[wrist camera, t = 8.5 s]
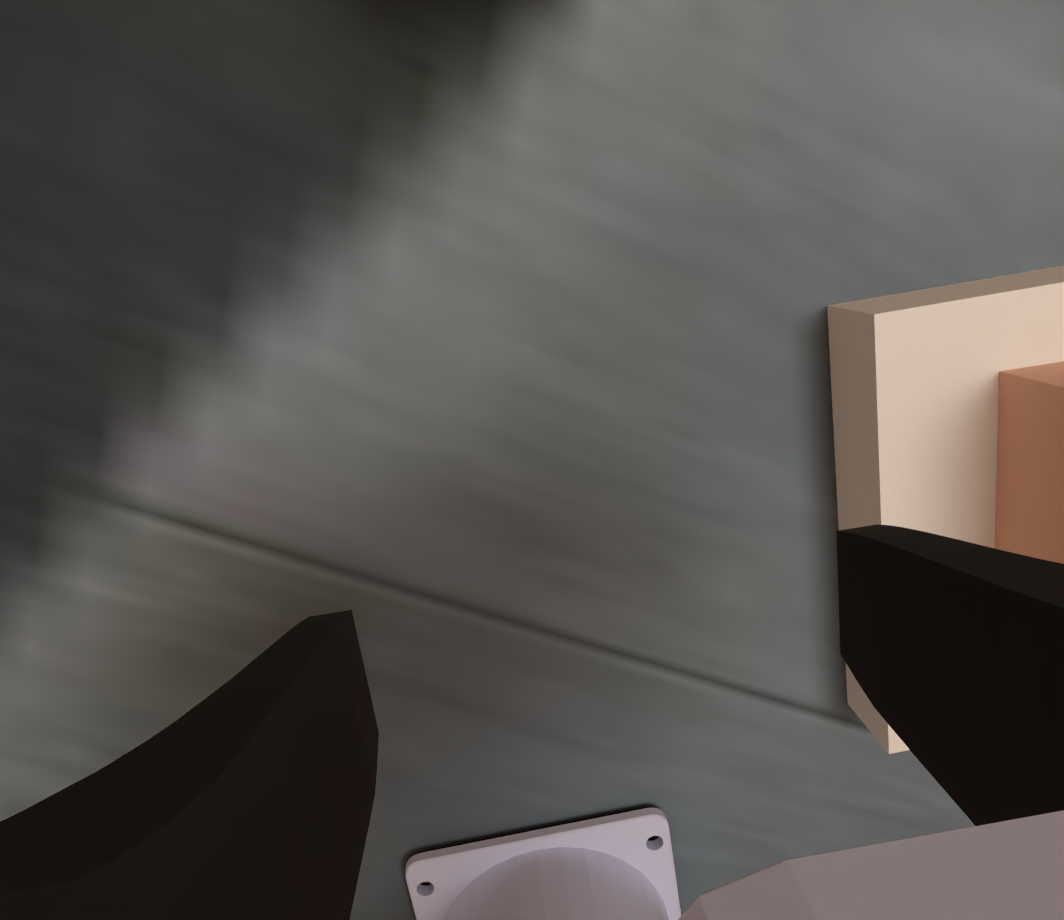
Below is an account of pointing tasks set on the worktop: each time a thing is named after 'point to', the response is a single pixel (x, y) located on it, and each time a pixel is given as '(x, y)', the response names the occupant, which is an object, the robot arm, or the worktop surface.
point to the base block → (931, 408)
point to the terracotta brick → (1031, 462)
